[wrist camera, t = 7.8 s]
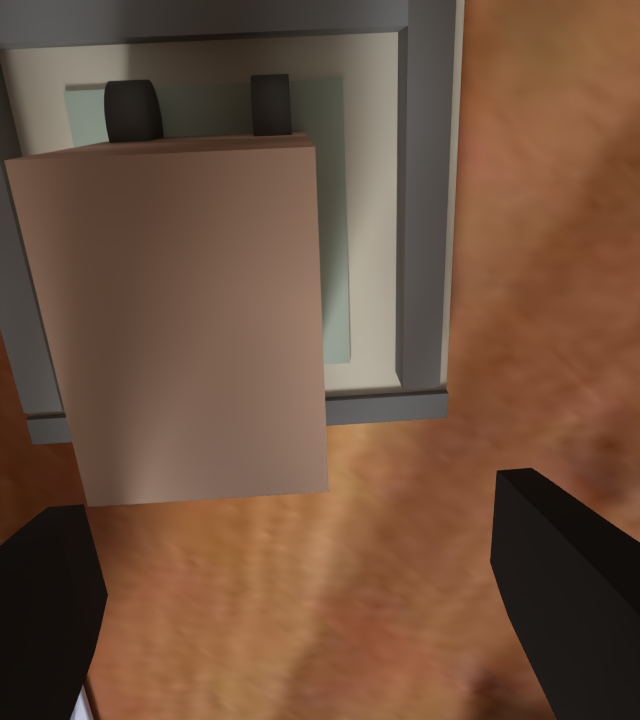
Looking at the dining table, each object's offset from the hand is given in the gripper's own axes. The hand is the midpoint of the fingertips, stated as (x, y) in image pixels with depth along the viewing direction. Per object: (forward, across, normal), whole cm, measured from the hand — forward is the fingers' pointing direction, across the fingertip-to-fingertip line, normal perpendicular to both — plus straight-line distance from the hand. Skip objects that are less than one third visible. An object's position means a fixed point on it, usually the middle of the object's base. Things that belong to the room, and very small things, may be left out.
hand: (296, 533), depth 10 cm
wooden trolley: (+7, +2, -3) cm, 8 cm away
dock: (+9, +2, -4) cm, 10 cm away
